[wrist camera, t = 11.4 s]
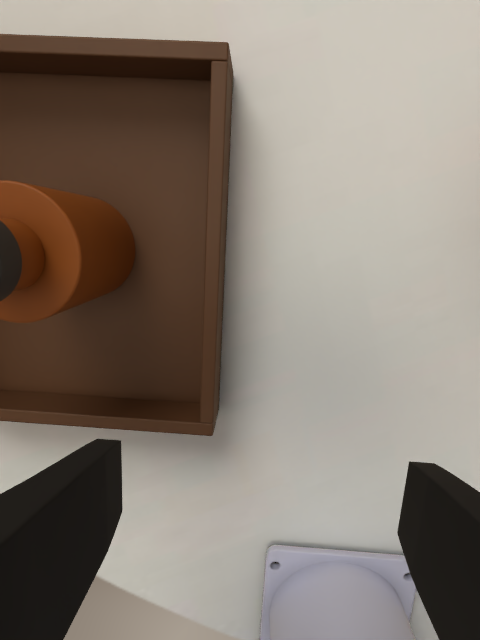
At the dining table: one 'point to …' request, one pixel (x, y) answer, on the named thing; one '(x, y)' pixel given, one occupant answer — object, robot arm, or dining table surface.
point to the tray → (142, 217)
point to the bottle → (58, 251)
